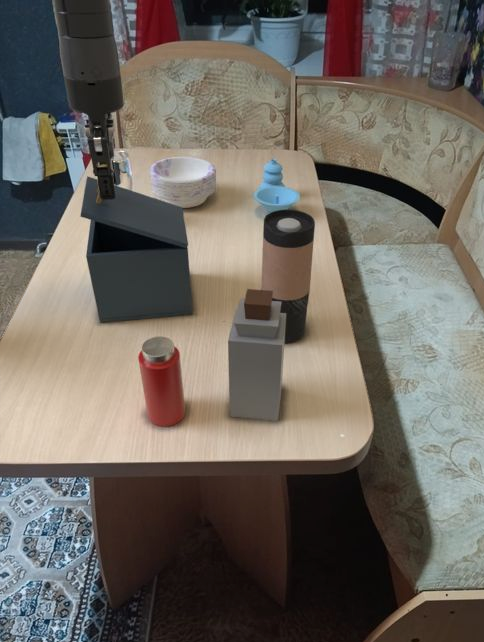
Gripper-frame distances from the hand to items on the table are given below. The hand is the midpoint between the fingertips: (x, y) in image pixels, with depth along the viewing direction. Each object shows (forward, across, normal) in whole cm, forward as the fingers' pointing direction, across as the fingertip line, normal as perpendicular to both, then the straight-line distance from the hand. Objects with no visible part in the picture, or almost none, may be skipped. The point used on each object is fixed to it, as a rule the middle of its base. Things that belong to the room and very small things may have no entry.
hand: (108, 190), depth 84 cm
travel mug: (+20, +14, +26) cm, 36 cm away
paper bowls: (+20, -40, +14) cm, 47 cm away
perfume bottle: (+20, +29, +19) cm, 40 cm away
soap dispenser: (+20, -34, +34) cm, 52 cm away
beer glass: (+20, -30, 0) cm, 36 cm away
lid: (+4, 0, +4) cm, 5 cm away
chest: (+20, 0, +4) cm, 20 cm away
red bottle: (+20, +30, +6) cm, 36 cm away
